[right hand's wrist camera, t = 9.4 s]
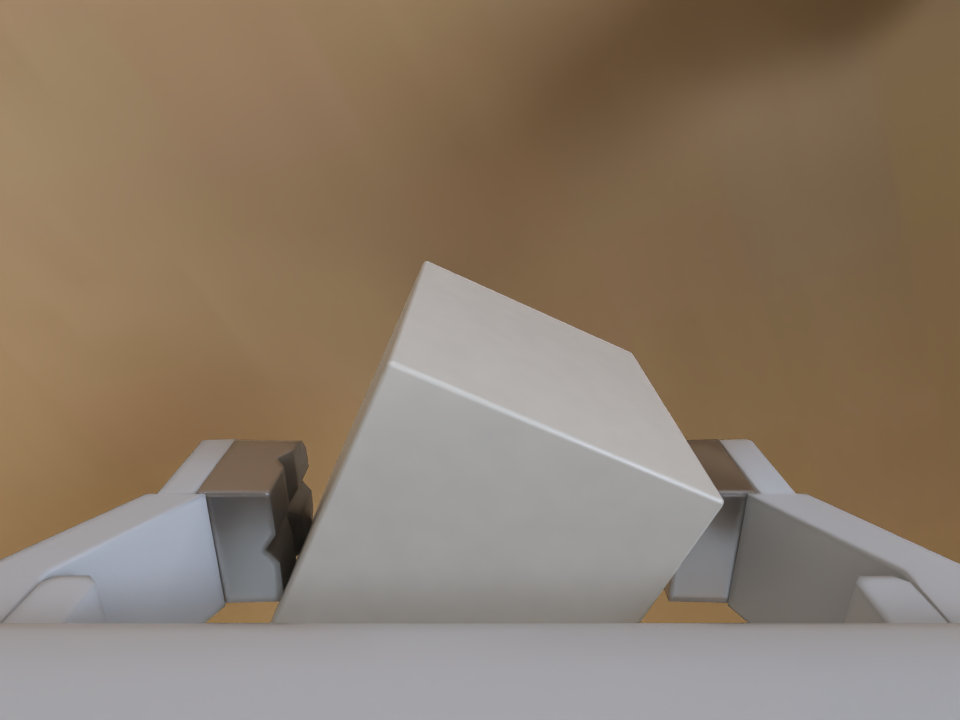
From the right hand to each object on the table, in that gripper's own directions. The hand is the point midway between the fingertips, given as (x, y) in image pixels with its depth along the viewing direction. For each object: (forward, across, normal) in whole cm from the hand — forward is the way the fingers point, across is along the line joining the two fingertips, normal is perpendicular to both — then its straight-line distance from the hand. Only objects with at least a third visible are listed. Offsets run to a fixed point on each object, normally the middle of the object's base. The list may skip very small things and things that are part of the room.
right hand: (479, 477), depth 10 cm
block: (+2, 0, 0) cm, 2 cm away
